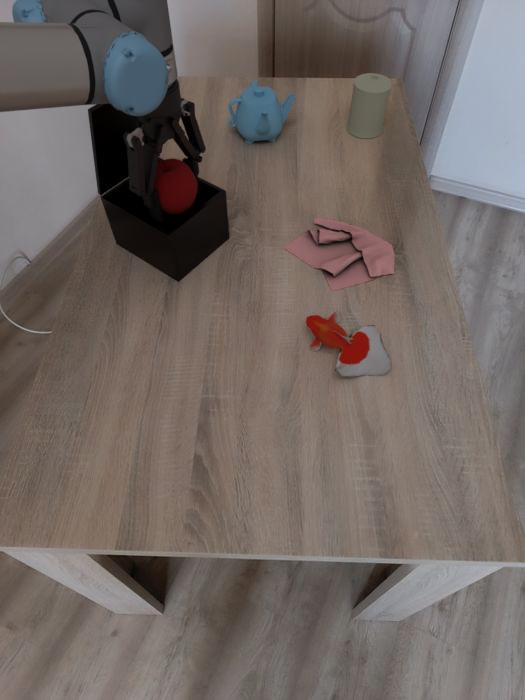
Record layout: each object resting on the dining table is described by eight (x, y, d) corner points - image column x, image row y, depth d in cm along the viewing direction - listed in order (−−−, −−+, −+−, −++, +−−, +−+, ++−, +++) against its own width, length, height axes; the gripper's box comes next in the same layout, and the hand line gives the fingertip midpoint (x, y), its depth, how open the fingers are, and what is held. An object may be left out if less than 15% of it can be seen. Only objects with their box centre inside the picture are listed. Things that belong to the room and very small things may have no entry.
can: (384, 121, 124) (395, 73, 114) (379, 141, 119) (390, 92, 109) (349, 116, 125) (357, 68, 115) (343, 135, 120) (350, 87, 110)
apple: (206, 215, 87) (200, 168, 79) (158, 227, 86) (147, 179, 77) (192, 185, 92) (185, 138, 84) (146, 196, 90) (135, 148, 82)
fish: (339, 291, 85) (351, 281, 75) (394, 360, 84) (413, 359, 74) (292, 329, 84) (297, 323, 74) (347, 398, 84) (360, 402, 74)
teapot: (300, 132, 121) (303, 87, 112) (265, 157, 115) (265, 111, 106) (254, 112, 127) (253, 67, 117) (219, 134, 121) (215, 89, 111)
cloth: (408, 278, 93) (412, 270, 91) (300, 296, 90) (301, 287, 88) (373, 211, 104) (375, 202, 102) (276, 225, 101) (276, 216, 99)
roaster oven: (229, 238, 99) (226, 190, 89) (178, 282, 92) (168, 236, 82) (168, 204, 105) (158, 156, 95) (116, 243, 98) (100, 196, 88)
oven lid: (163, 71, 79) (131, 46, 79) (91, 112, 72) (56, 83, 72) (160, 156, 95) (133, 134, 96) (100, 195, 88) (72, 172, 89)
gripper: (115, 121, 64) (148, 245, 83) (219, 59, 74) (228, 183, 92) (78, 103, 67) (118, 228, 85) (184, 46, 76) (199, 169, 95)
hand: (175, 204), depth 89 cm, fingers closed on apple, 9 cm apart
